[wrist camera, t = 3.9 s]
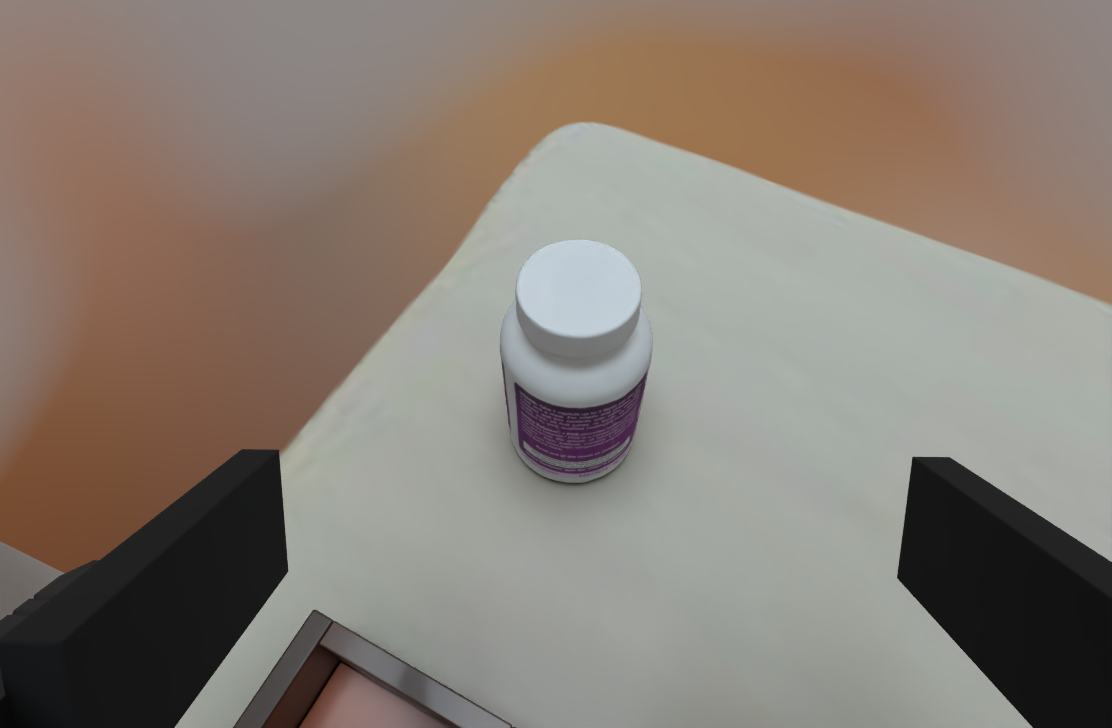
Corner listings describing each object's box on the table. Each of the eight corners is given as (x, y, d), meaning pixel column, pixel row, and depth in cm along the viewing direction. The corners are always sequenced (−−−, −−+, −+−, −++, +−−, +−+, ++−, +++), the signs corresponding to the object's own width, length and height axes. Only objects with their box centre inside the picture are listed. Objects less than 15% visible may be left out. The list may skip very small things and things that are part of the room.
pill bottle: (660, 444, 30) (701, 305, 22) (554, 511, 28) (557, 388, 20) (586, 354, 32) (599, 199, 24) (485, 411, 31) (462, 265, 23)
